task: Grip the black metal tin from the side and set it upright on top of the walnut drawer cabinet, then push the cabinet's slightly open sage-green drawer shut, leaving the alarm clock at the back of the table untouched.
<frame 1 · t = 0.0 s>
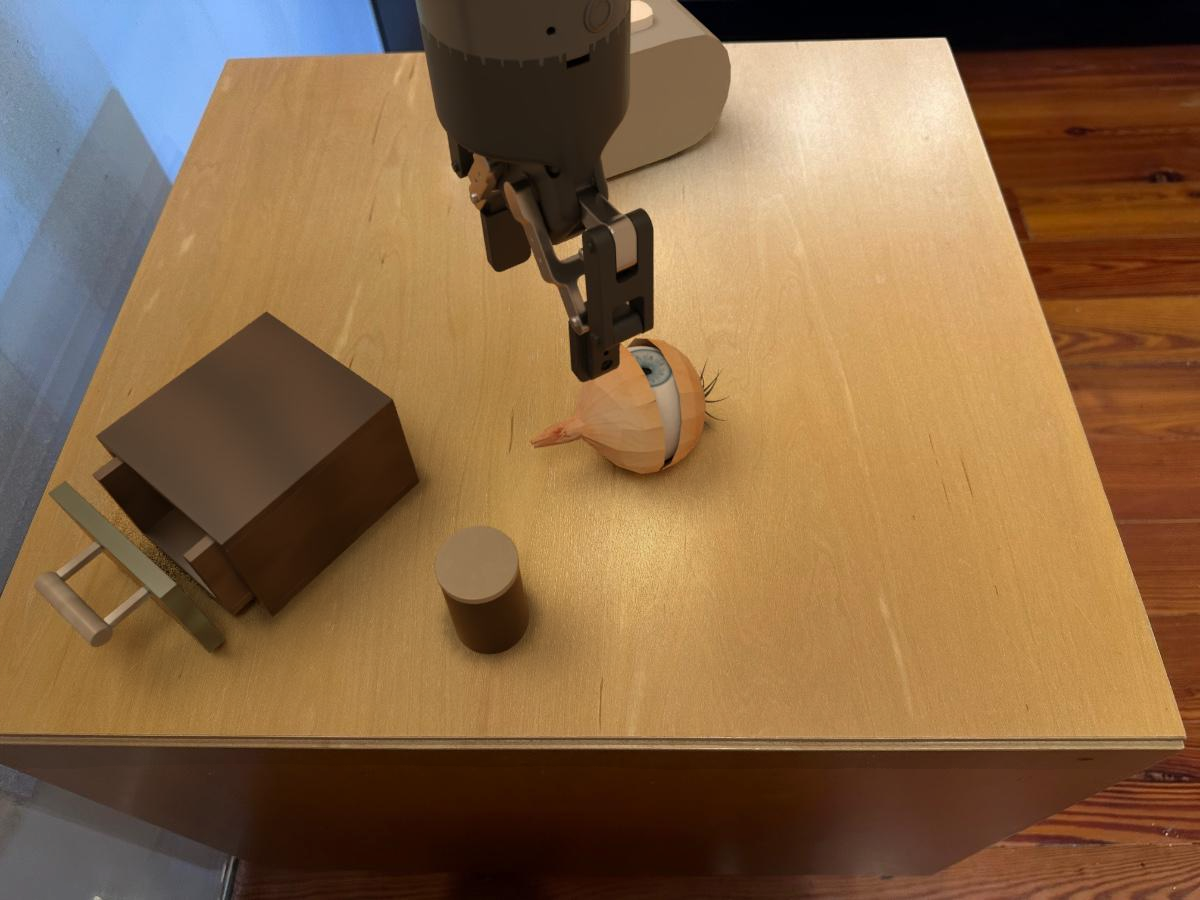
hand: (551, 314, 45), 22 cm above the table, tool pointing down, fingers open, 8 cm apart
tin: (491, 619, 60), on the table
cabinet: (290, 498, 66), on the table
sculpture: (628, 448, 68), on the table
drawer: (185, 529, 59), point 5 cm above the table, slide at 3.0 cm
alarm clock: (606, 150, 88), on the table
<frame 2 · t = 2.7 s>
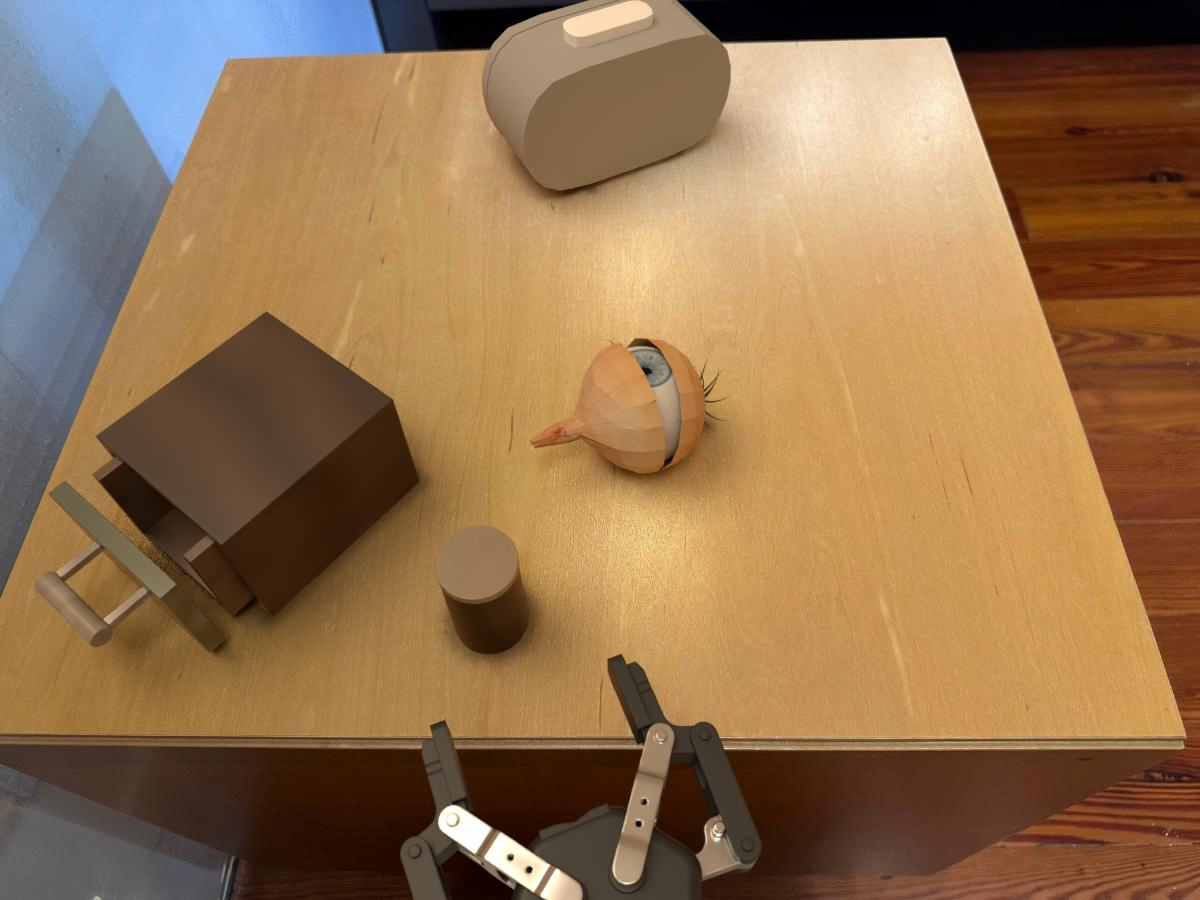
hand: (528, 694, 43), 14 cm above the table, tool horizontal, fingers open, 8 cm apart
nothing on the table moved.
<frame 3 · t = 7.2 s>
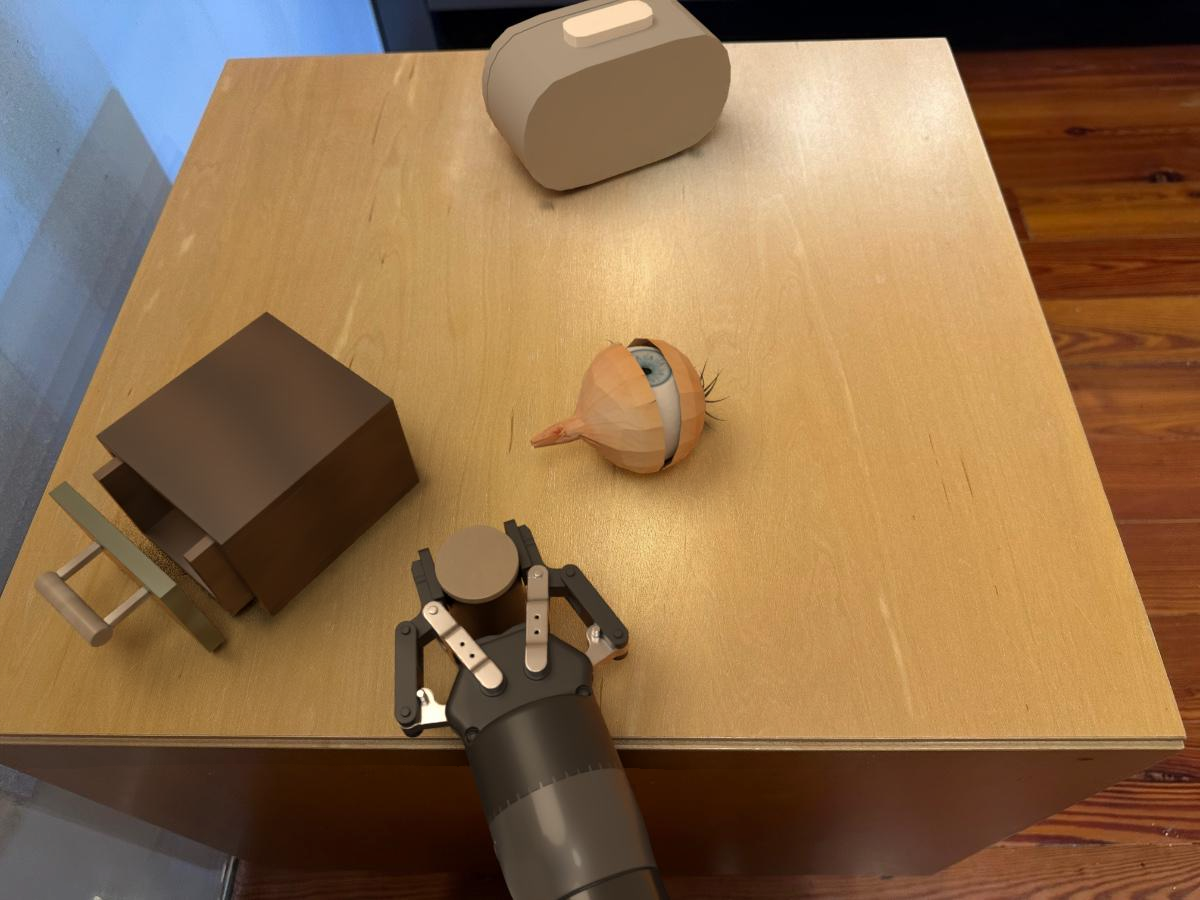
hand: (467, 541, 57), 6 cm above the table, tool horizontal, fingers closed on tin, 4 cm apart
tin: (491, 619, 60), on the table, touching gripper
everything else where it was.
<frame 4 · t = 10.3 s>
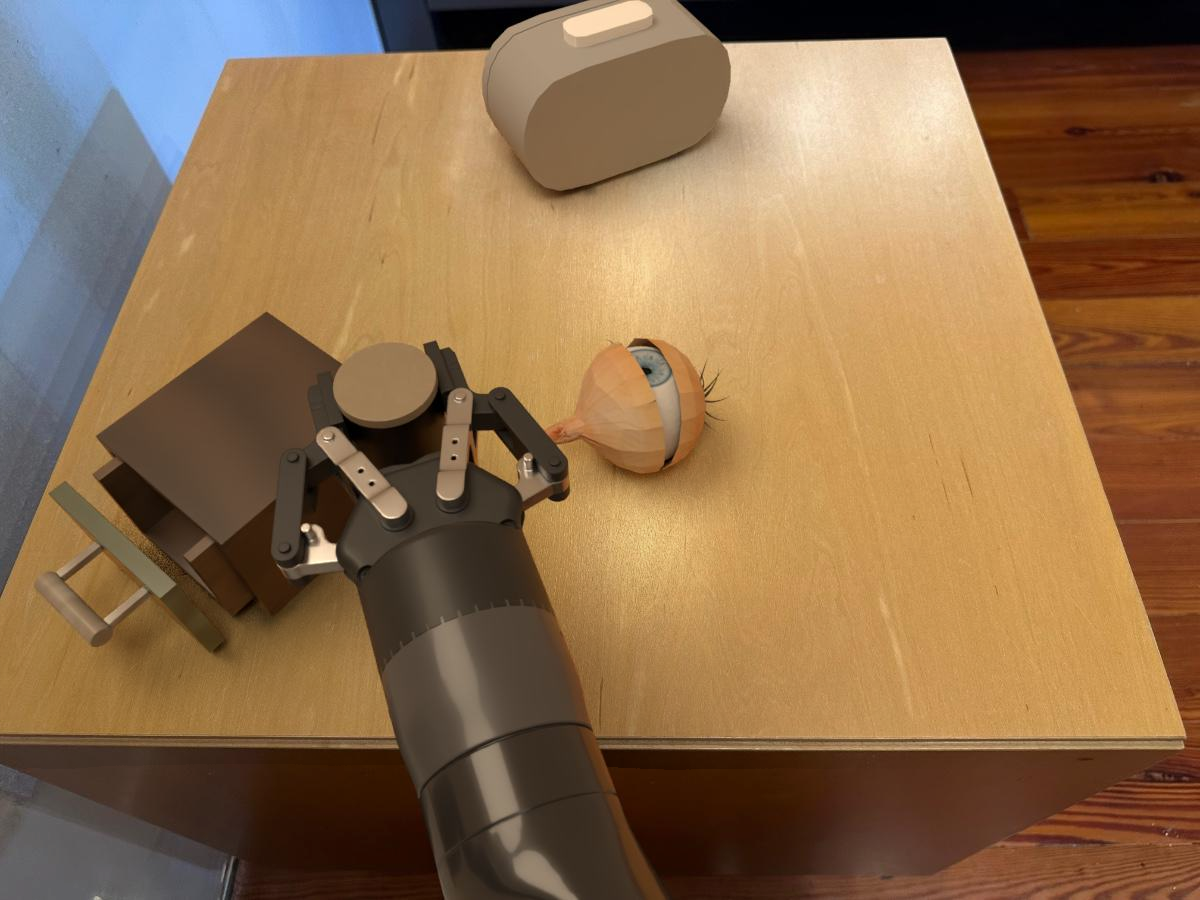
hand: (380, 368, 47), 20 cm above the table, tool horizontal, fingers closed on tin, 4 cm apart
tin: (414, 474, 50), point 14 cm above the table, touching gripper
everything else where it was.
when the fingers open (16 cm above the table, at t = 13.8 s): tin stays where it is, resting on cabinet.
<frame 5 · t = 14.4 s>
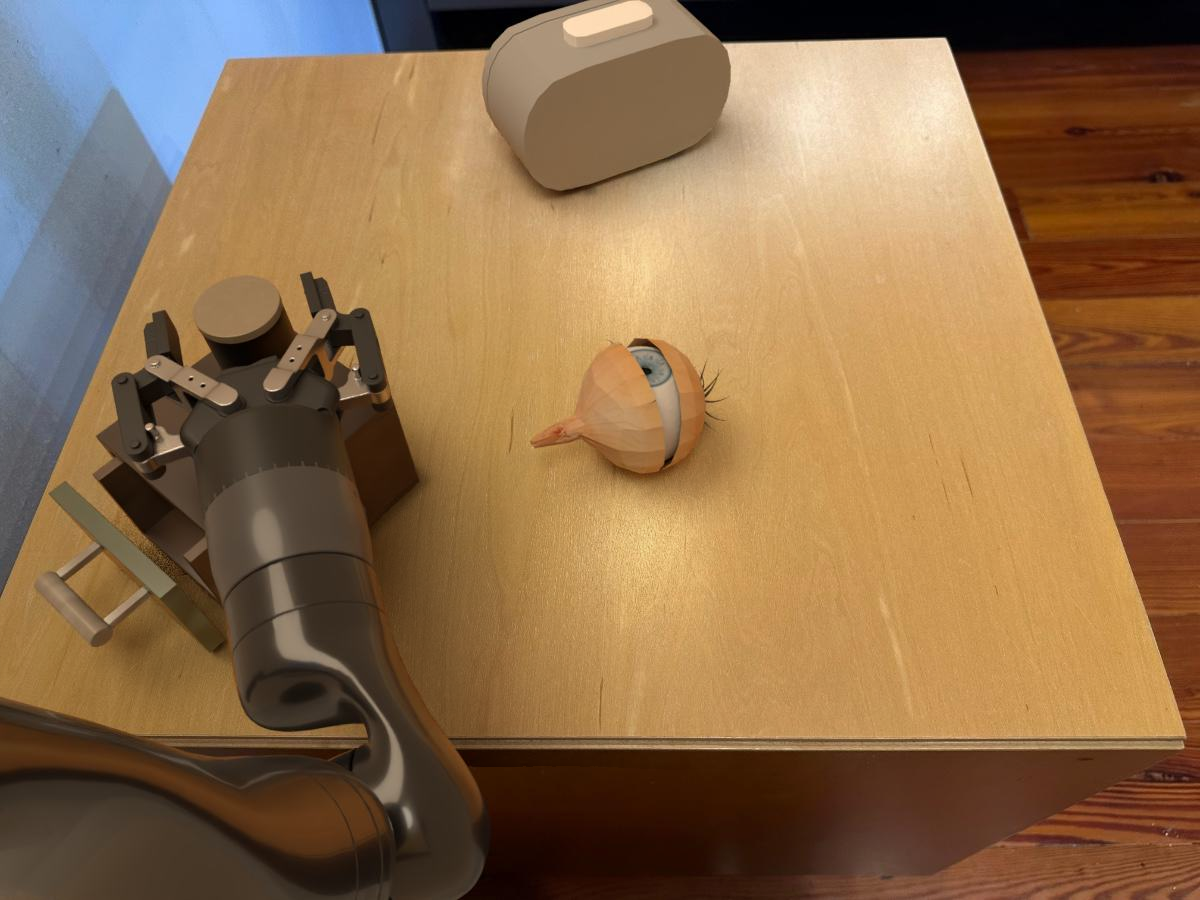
hand: (237, 301, 55), 16 cm above the table, tool horizontal, fingers open, 8 cm apart
tin: (278, 393, 59), point 10 cm above the table, touching cabinet
everything else where it was.
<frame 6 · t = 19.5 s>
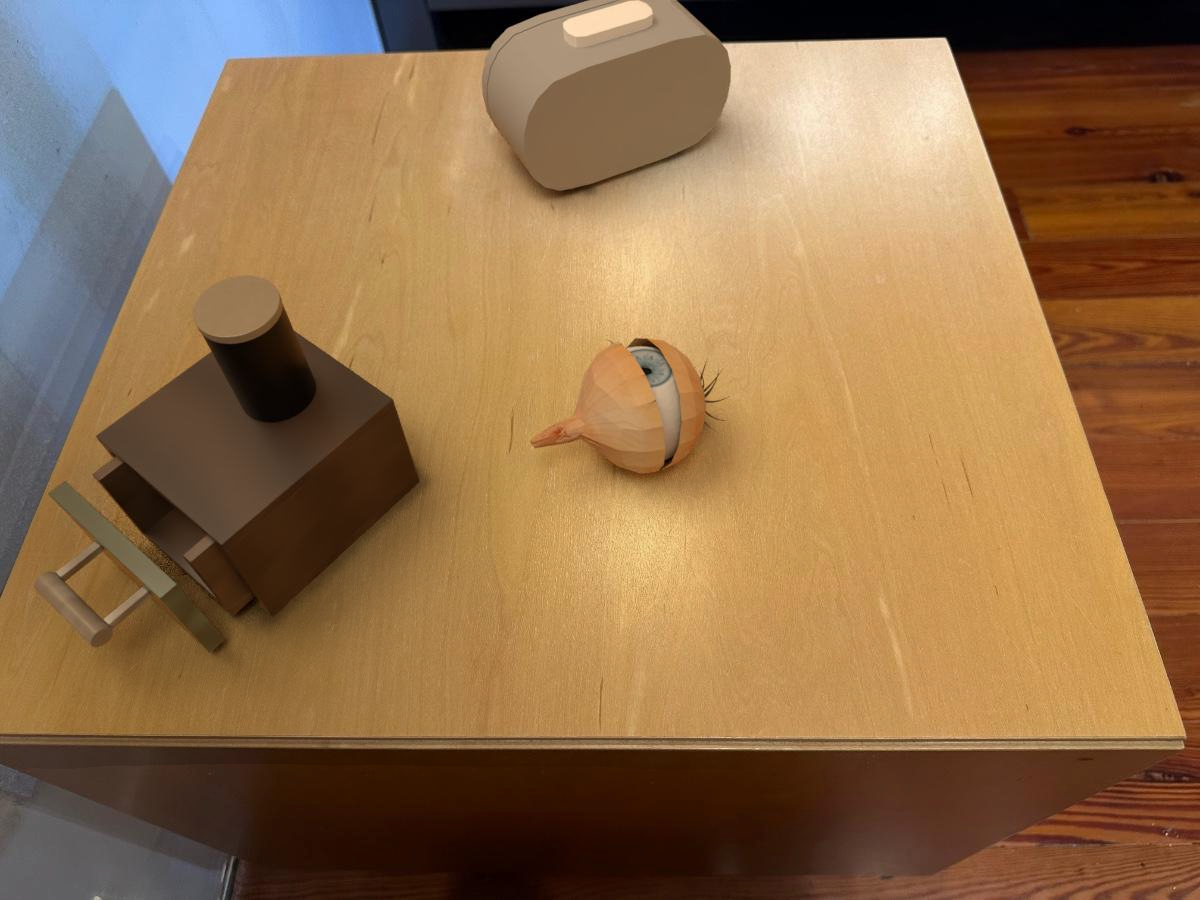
nothing on the table moved.
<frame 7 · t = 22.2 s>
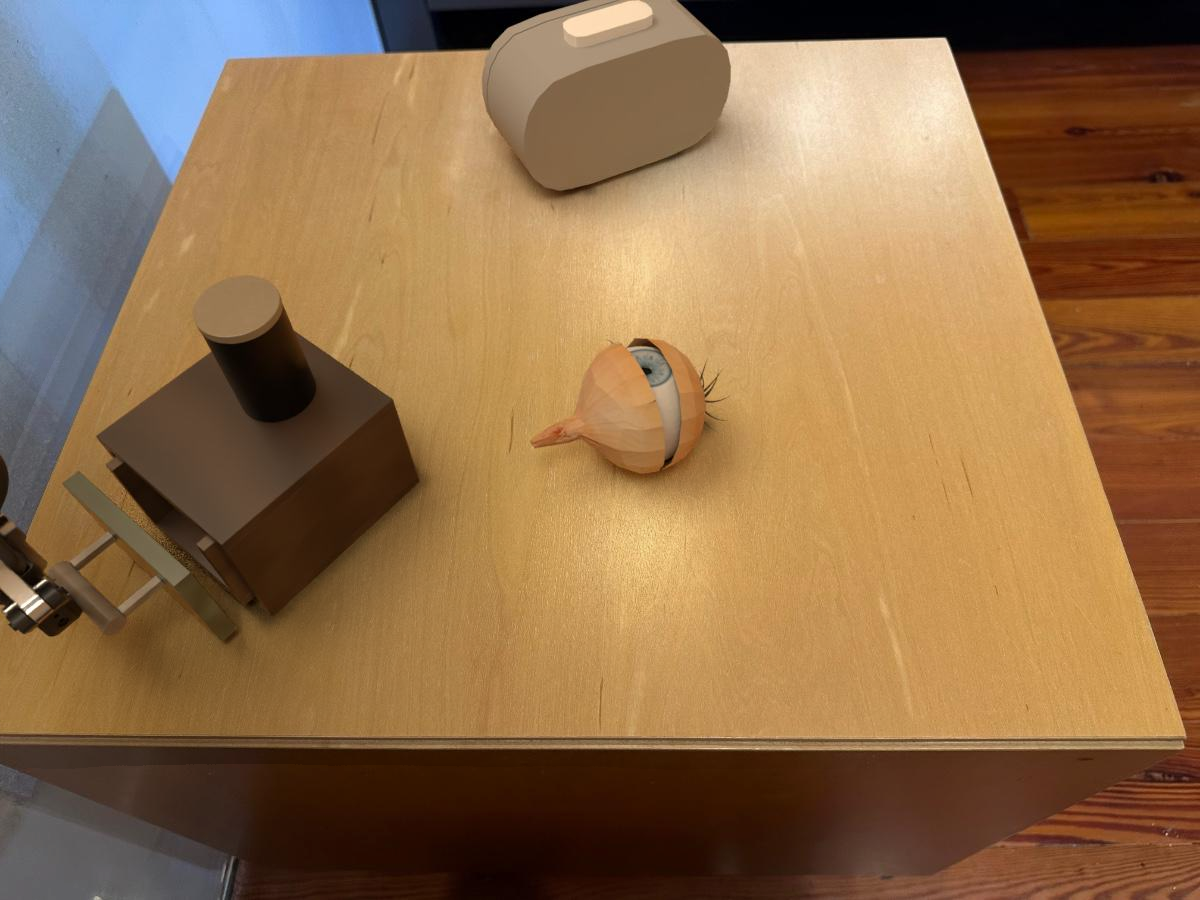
hand: (62, 618, 54), 6 cm above the table, tool pointing down, fingers closed
drawer: (197, 519, 59), point 5 cm above the table, slide at 2.1 cm, touching gripper
everything else where it was.
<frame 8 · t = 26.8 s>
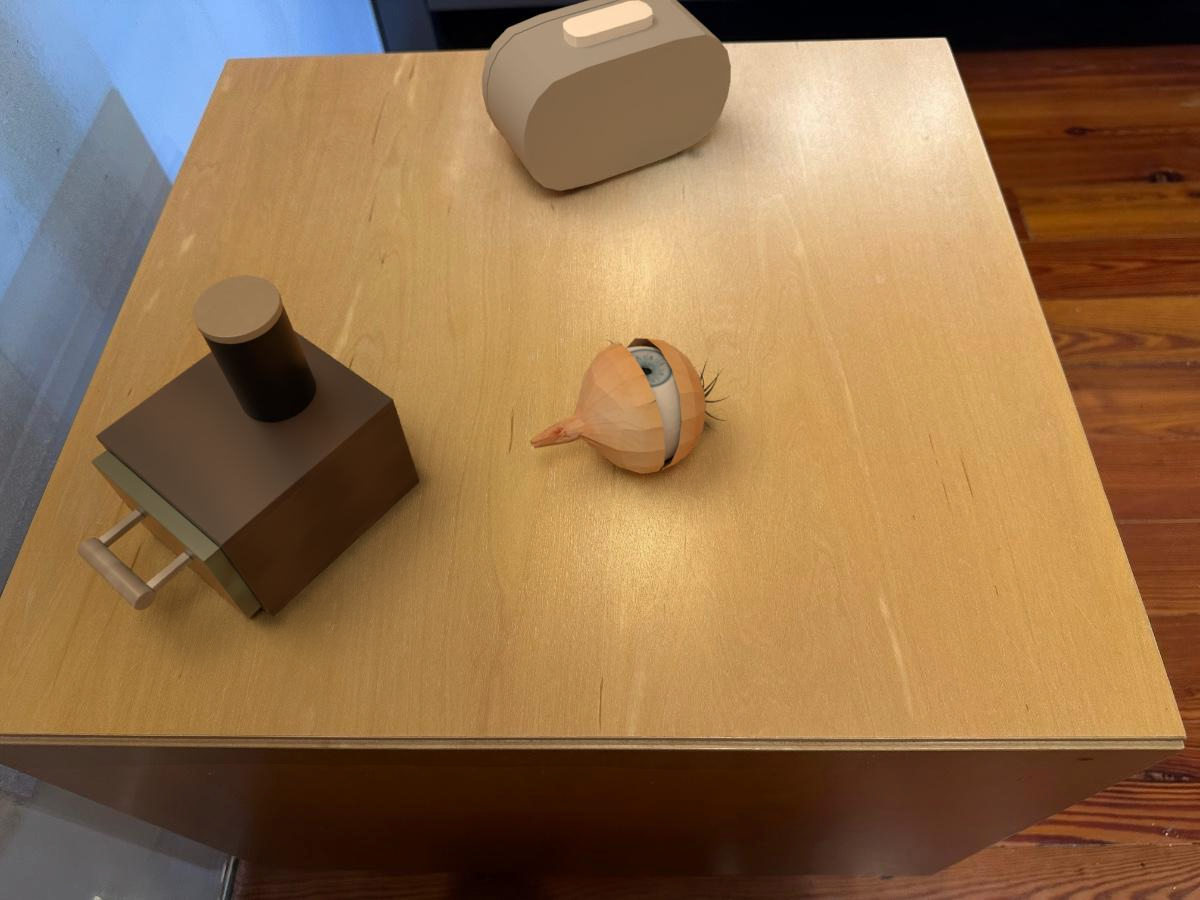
drawer: (223, 498, 60), point 5 cm above the table, slide at 0.0 cm
everything else where it was.
at the end: tin inside the target area on the cabinet (1.4 cm from its centre), point 9.6 cm above the cabinet's base; drawer slide at 0.0 cm; alarm clock moved 0.2 cm from its start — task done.
